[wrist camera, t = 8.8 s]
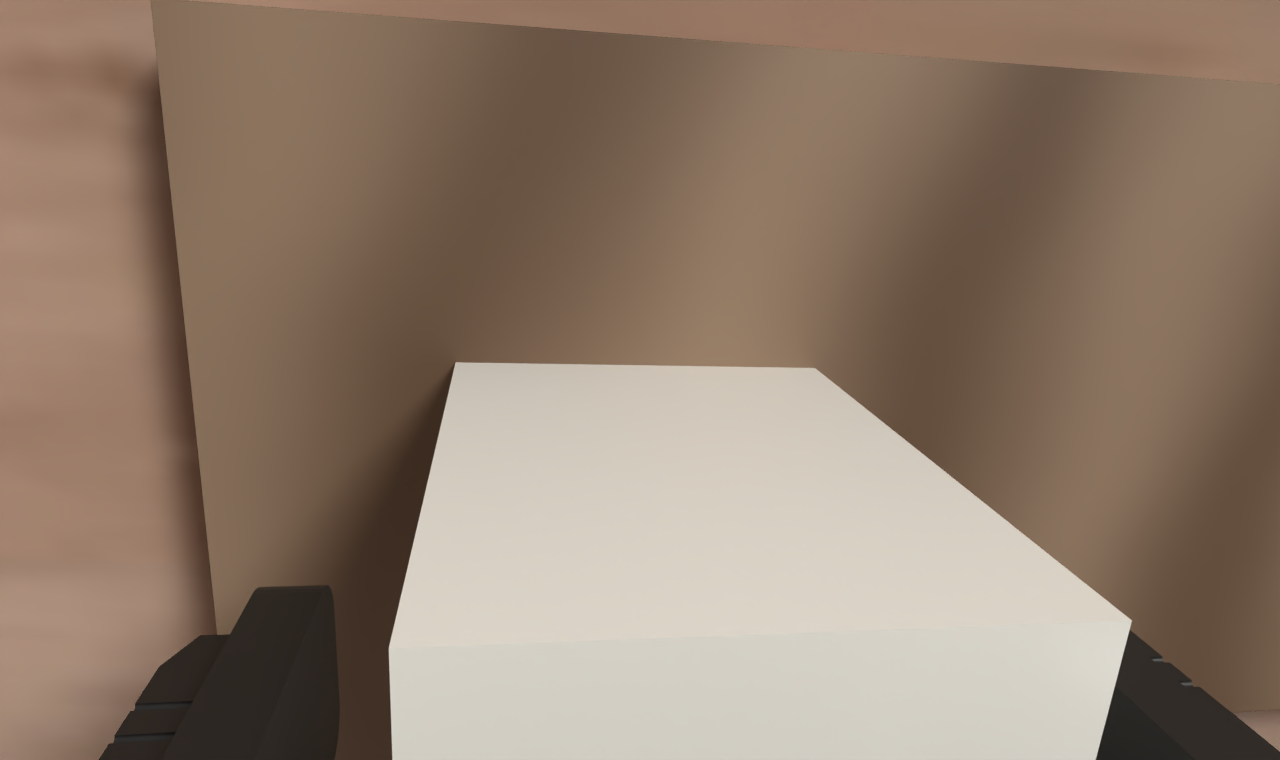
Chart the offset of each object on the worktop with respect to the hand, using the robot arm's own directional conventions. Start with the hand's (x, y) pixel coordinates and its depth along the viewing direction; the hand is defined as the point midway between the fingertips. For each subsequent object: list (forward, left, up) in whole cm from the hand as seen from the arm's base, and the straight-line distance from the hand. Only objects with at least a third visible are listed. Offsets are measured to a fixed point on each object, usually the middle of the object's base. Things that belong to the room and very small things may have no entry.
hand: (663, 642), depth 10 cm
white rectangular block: (0, 0, -3) cm, 3 cm away
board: (-3, -4, -4) cm, 7 cm away
